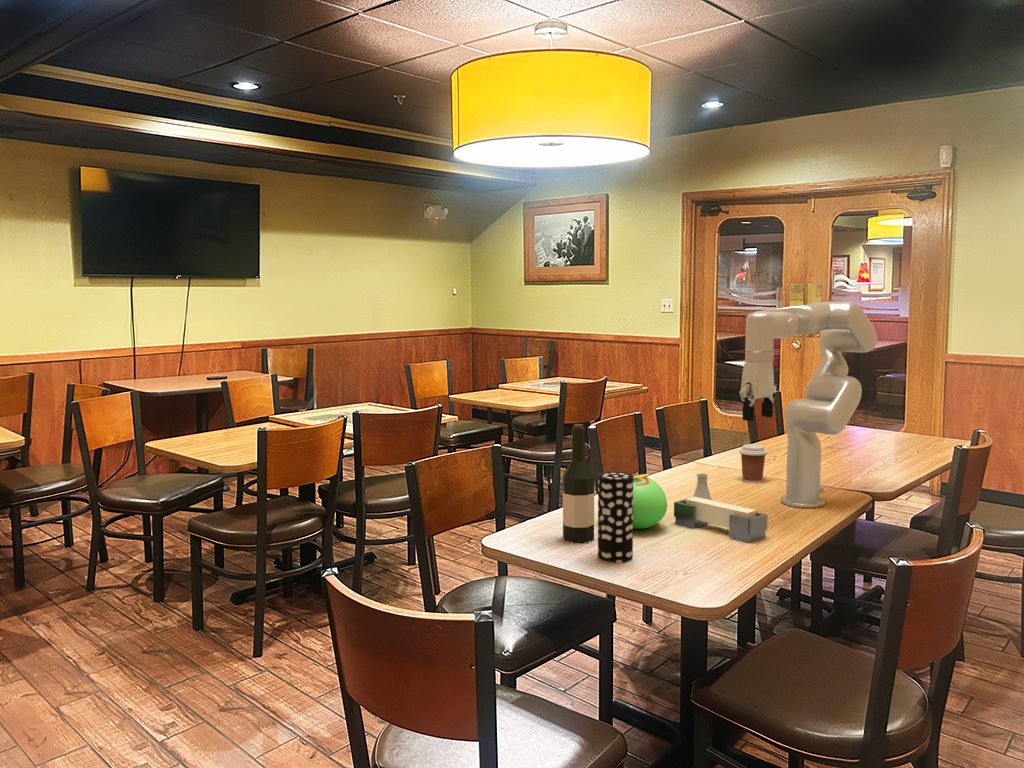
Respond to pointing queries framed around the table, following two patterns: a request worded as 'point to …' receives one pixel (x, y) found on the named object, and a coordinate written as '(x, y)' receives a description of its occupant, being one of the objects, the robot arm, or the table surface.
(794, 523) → the table surface
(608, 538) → the white-spotted black cylinder
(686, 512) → the bracket
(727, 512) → the rail
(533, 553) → the table surface
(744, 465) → the coffee cup
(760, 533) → the bracket
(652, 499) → the toy bird
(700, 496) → the flask
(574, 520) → the wine bottle
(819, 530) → the table surface
